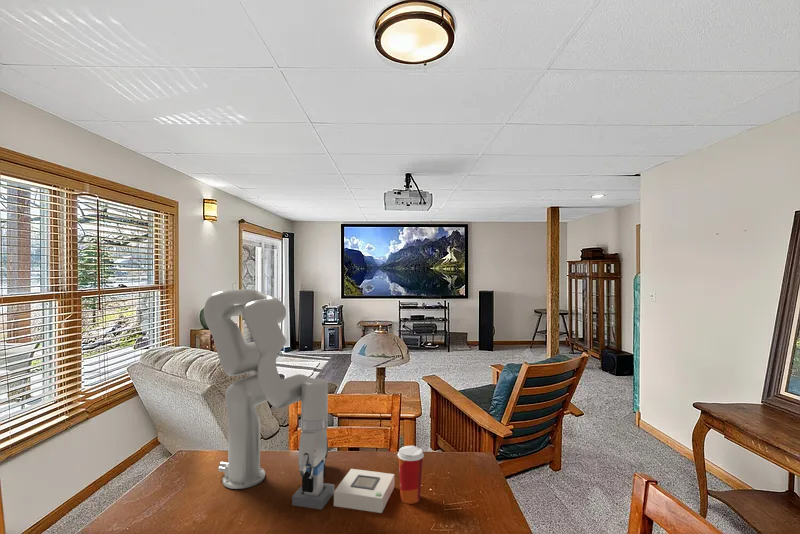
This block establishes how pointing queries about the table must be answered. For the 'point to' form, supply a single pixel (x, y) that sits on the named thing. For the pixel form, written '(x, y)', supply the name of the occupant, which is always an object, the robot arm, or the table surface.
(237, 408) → the robot arm
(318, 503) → the grey square frame
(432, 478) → the table surface
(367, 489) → the port panel
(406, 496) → the paper cup
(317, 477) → the plug
